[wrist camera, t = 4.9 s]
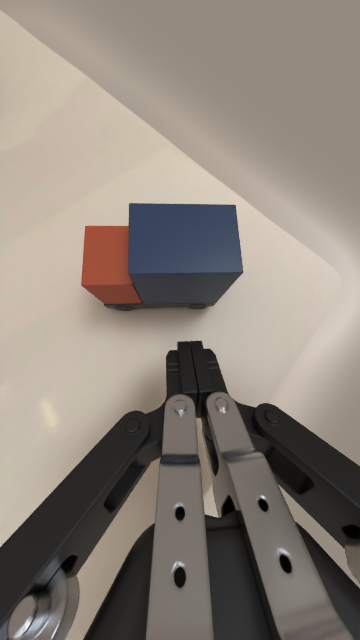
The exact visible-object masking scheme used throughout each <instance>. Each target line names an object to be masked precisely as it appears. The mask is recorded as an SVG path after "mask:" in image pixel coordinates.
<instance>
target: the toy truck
mask: <svg viewBox="0 0 360 640" xmlns="http://www.w3.org/2000/svg"><path fill="white" fill-rule="evenodd" d="M242 273H243V267H242V258H241V249H240V240H239V232H238V223H237V214H236V205H208V204H138V203H130V204H129V226H85V238H84V253H83V268H82V284H81V285H82V286H83V287H84V288H85V289H87V290H88V291H89V292H90V293H92V294H93V295H94V296H95V297H97V298H98V299H99V300H101V301H102V302H103V303H104V306H106V307H107V308H115V309H117V310H122V311H129V310H133V308H142V307H185V306H189V308H191V309H201V308H205V307H206V306H213V305H214V304H215V303H216V302H217V301H218V300H219V299H220V298H221V296H222V295H223V294H224V293H225V292H226V291H227V290H228V289H229V288H230V286H231V285H232V284H233V283H234V282H235V281H236V280H237V279H238V278H239V276H240V275H241V274H242Z"/></svg>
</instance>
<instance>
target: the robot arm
mask: <svg viewBox="0 0 360 640" xmlns="http://www.w3.org/2000/svg"><path fill="white" fill-rule="evenodd" d="M166 381H167V396H166V400H165V402H164V403H163V404H162V406H161V407H159V408H158V409H156V410H154V411H152V412H149V413H147V414H144V413H143V412H141V411H132V412H129V413H127V414H125V415H124V416H123V417H122V418H121V419H120V420H119V421H118V422H117V423H116V424H115V425H114V426H113V428H112V429H111V430H110V431H109V432H108V433H107V434H106V435H105V436H104V437H103V438H102V439H101V440H100V441H99V443H98V444H97V445H96V446H95V447H94V448H93V449H92V450H91V451H90V452H89V453H88V454H87V455H86V456H85V457H84V459H83V460H82V461H81V462H80V463H79V464H78V465H77V466H76V467H75V468H74V469H73V470H72V471H71V472H70V474H69V475H68V476H67V477H66V478H65V479H64V480H63V481H62V482H61V483H60V484H59V485H58V486H57V487H56V488H55V490H54V491H53V492H52V493H51V494H50V495H49V496H48V497H47V498H46V499H45V500H44V501H43V502H42V503H41V505H40V506H39V507H38V508H37V509H36V510H35V511H34V512H33V513H32V514H31V515H30V516H29V517H28V518H27V520H26V521H25V522H24V523H23V524H22V525H21V526H20V527H19V528H18V529H17V530H16V531H15V532H14V533H13V534H12V536H11V537H10V538H9V539H8V540H7V541H6V542H5V543H4V544H3V545H2V546H1V547H0V640H65V638H66V636H67V634H68V632H69V630H70V628H71V626H72V624H73V621H74V618H75V615H76V612H77V608H78V603H79V594H80V589H79V582H78V578H77V576H76V575H77V573H78V572H79V570H80V569H81V567H82V566H83V564H84V563H85V561H86V560H87V558H88V557H89V555H90V554H91V552H92V551H93V549H94V548H95V546H96V545H97V543H98V542H99V540H100V539H101V537H102V536H103V534H104V533H105V531H106V530H107V528H108V527H109V525H110V524H111V522H112V521H113V519H114V518H115V516H116V515H117V513H118V512H119V510H120V509H121V507H122V506H123V504H124V502H125V501H126V499H127V498H128V496H129V495H130V493H131V492H132V490H133V489H134V487H135V486H136V484H137V483H138V481H139V480H140V478H141V477H142V475H143V474H144V472H145V471H146V469H147V468H148V466H149V465H150V463H151V462H152V461H154V460H156V459H158V458H160V457H161V460H160V467H159V478H158V491H157V504H156V516H155V523H154V524H152V525H151V526H149V527H148V528H147V529H146V530H145V531H144V532H143V533H142V534H141V536H140V537H139V538H138V539H137V541H136V542H135V544H134V545H133V547H132V548H131V550H130V552H129V553H128V555H127V557H126V559H125V561H124V563H123V565H122V567H121V568H120V570H119V572H118V574H117V576H116V578H115V580H114V582H113V584H112V586H111V587H110V589H109V591H108V593H107V595H106V597H105V599H104V601H103V603H102V605H101V607H100V608H99V610H98V612H97V614H96V616H95V618H94V620H93V622H92V624H91V626H90V627H89V629H88V631H87V633H86V635H85V637H84V639H83V640H360V589H359V587H358V586H357V585H356V584H355V583H354V582H353V581H352V580H351V579H350V578H349V577H348V576H347V574H346V573H345V572H344V571H343V570H342V569H341V568H340V567H339V566H338V565H337V564H336V563H335V561H334V560H333V559H332V558H331V557H330V556H329V555H328V554H327V553H326V552H325V551H324V550H323V548H322V547H321V546H320V545H319V544H318V543H317V542H316V541H315V540H314V539H313V538H312V537H311V535H310V534H309V533H308V532H307V531H306V530H305V529H303V528H302V527H301V526H300V525H299V524H298V523H297V522H295V521H294V519H293V516H292V514H291V512H290V510H289V508H288V505H287V503H286V501H285V499H284V497H283V495H282V492H281V490H280V488H279V486H278V484H279V485H280V486H281V487H282V488H283V489H284V490H285V491H286V492H287V493H288V494H289V495H290V496H291V497H292V498H293V499H294V500H295V501H296V502H297V503H298V504H299V505H300V506H301V507H302V508H303V509H304V510H305V511H306V512H307V513H308V514H309V515H311V516H312V517H313V518H314V519H315V520H316V521H317V522H318V523H319V524H320V525H321V526H322V527H323V528H324V529H325V530H326V531H327V532H328V533H329V534H330V535H331V536H332V537H333V538H334V539H335V540H336V541H337V542H338V543H339V544H340V545H341V546H343V548H344V549H345V553H346V557H347V564H348V567H349V569H350V571H351V573H352V574H353V576H354V577H355V578H356V579H357V580H358V582H359V583H360V466H359V465H357V464H356V463H354V462H353V461H351V460H350V459H349V458H347V457H346V456H345V455H343V454H342V453H340V452H339V451H338V450H336V449H335V448H333V447H332V446H330V445H329V444H328V443H326V442H325V441H324V440H322V439H321V438H319V437H318V436H317V435H315V434H314V433H313V432H311V431H309V430H308V429H307V428H306V427H304V426H303V425H301V424H300V423H299V422H297V421H296V420H294V419H293V418H292V417H290V416H289V415H287V414H286V413H285V412H283V411H282V410H280V409H279V408H278V407H276V406H274V405H272V404H268V403H263V404H260V405H258V406H257V408H255V407H251V406H247V405H243V404H240V403H238V402H236V401H235V400H234V399H233V398H232V397H231V396H230V395H229V394H228V392H227V389H226V386H225V383H224V380H223V377H222V374H221V371H220V369H219V364H218V361H217V358H216V355H215V354H214V353H213V351H212V350H211V349H203V345H202V341H190V342H189V341H185V342H177V350H170V351H169V352H168V354H167V356H166ZM196 418H201V421H202V436H203V441H204V445H205V449H206V454H207V458H208V462H209V467H210V471H211V476H212V482H213V493H214V498H215V503H216V508H217V512H218V517H219V518H216V517H213V516H209V515H205V514H204V504H203V503H204V502H203V489H202V476H201V465H200V459H199V456H198V443H197V429H196Z"/></svg>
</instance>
